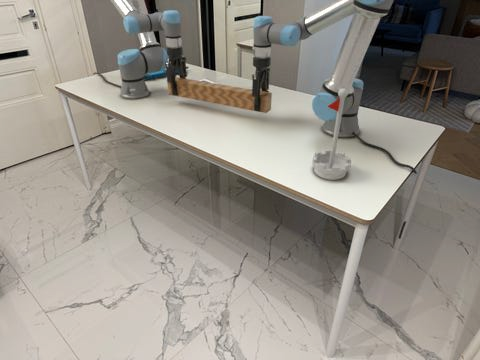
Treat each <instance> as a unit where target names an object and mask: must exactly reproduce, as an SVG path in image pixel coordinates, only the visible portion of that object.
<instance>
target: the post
mask: <svg viewBox="0 0 480 360" xmlns="http://www.w3.org/2000/svg"><path fill="white" fill-rule="evenodd" d="M166 83H167V84H166V85H167V91H168V95H169V96H174V95H172V89H171V83H168V82H167V81H166ZM175 83H176V84H177V94H178V96H177V97H179V98H184V99H190V100H194V101H200V102H206V103H211V104H215V105H222V106H227V107H232V108H235V109H241V110H246V111H251V112H255V111H254V97H252V88H245V87H240V86H233V85H227V84H220V83H217V84H215V83H216V82H215V83H209V82H203V81H199V80H196V79H190V78H186V79H184V78H180V77H179V76H178V77H177V76H176V78H175ZM272 94H273V93H272V92H270V91H269V92H264V91H260V97H261V102H260V112H259V111H256V112H257V113H263V114H268V112H270V111H271V110H272V97H273V95H272ZM174 97H175V96H174Z"/></svg>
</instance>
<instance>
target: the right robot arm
mask: <svg viewBox="0 0 480 360" xmlns="http://www.w3.org/2000/svg"><path fill="white" fill-rule="evenodd" d="M394 1H395V0H332V1H331V2H329V3H327V4H325V5H324V6H322V7H319V9H317V10H315V11H313V12H311V13H309V14H308V15H306V16H303V17H302V18H300V19H298V20H296V21H291V22H288V23H275V22H274V21H273V19H274V18H273V17H272V16H269V15H258V16H255V18H254V19H253V27H252V29H253V45H252V51H253V52H252V55H253V57H252V66H253V67H254V68H255V72H254V74H252V75H251V78H252V85H251V89H252V97H254V111H253V112H257V111H259V112H258V113H261V112H260V102H261V97H260V91H264V92H270V91H269V90H270V72H271V68H270V67H271V62H272V61H271V59H272V58H271V56H272V45H279V46H283V47H295V46H296V45H297V44H298V43H299V41H303V40H307V39H309V38H310V37H311V36H313V35H314V34H317V33H318V32H320V31H322V30H325V29H327V28H328V27H331V26H332V25H334V24H336V23H338V22H340V21H343V20H345V19H347V18H348V17H350V16H352V18H351V20H350V23H349V25H348V28H347V31H346V33H345V36H344V38H343V41H342V44H341V47H340V49H339V52H338V55H337V57H336V60H335V63H334V65H333V68H332V71H331V74H330V76H329V77H328V78H326V79H324V80H323V83H322V86H321V89H320V91H319V92H318V93H316V95H315V96H314V97H313V99H312V102H311V108H312V112H313V113H314V115H315V116H316V117H317V118H318V119H319V120H321V121H323V126H322V130H323V132H324V133H325V134H326V135H329V136H332V137H333V136H334V130H335V124H336V118H337V112H338V111H336V110H333V109H331V108H329V107H327V106H329V105H330V104H332V103H333V102H335V101H336V100H338V99H339V98H340V97H339V95H338V92H339V90H340V89H342V88H344V89H346V90H347V91H348V95H347V96H346V97H345V99H344V105H343V111H342V117H341V123H340V128H339V134H338V138H339V139H341V138H342V139H349V138H354V137H355V138H356V139H357V140H359V141H360V143H362V144H364V145H366V146H368V147H371V148H374V149H377V150H380V151H382V152H384V153H385V154H387V155H388V157H389V158H390V160H391V161H392V162H393V163H395V164H396V165H397V166H400V167H403V168H408V169H410V170H411V171H412V172H413V174H416V175H417V174H418V172H417V170H416V169H415V168H414V166H412V165H410V164H407V163H406V164H405V163H402V162H399V161H397V160H396V159H395V158H394V157H393V155H392V154H391V153H390V151H389V150H387V149H385V148H383V147H381V146H379V145H375V144H372V143H368V142H367V141H365V140H363V139H362V138H361V137H360V136H359V132H360V125H359V118H358V117H359V116H358V114H359V111H360V110H359V109H360V105H361V100H362V95H363V90H364V81H363V80H362V79H359V78H356V77H357V75H358V72H359V69H360V67H361V65H362V62H363V60H364V58H365V55H366V53H367V51H368V50H369V49H368V48H369V47H370V44H371V42H372V39H373V37H374V34H375V32H376V30H377V27H378V25H379V24H380V20H381V19H382V18H383V17H385V16H387V15H388V14H389V12H390V9H391V7H392V5H393V4H394ZM406 225H407V220H405V221H403V223H402V226H401V228H400V231H399V233H398V238H397V239H402V235H403V233H404V229H405V227H406Z"/></svg>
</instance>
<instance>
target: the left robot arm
mask: <svg viewBox="0 0 480 360" xmlns="http://www.w3.org/2000/svg"><path fill="white" fill-rule="evenodd" d="M110 3H112V5H113V6H114V7H115V9H116V10H117V12H118V13H119V15H121V16H120V17H122V18H123V20H122V22H123V27H124V29H125V32H126V33H127V34H129V35H132V34H134V35H137V37H138V39H139V44H140V46H139V48H132V49H126V50H122V51H121V52H119V53H118V54H117V64H118V69H119V73H120V79H121V85H119V84H116V83H113V82H110V81H108V80H107V79H106V78H105V77H104V76H103V74H101V73H99V72H93V73H92V75H93V76H94V75H98V76H100V77H101V78H102V79H103V81H105V82H106V83H107V84H110V85H112V86H116V87H117V88H118V87H119V88H120V96H121V98H123V99H126V100H137V99H142V98H143V99H144V98H145V97H148V96H149V95H150V90H149V88H148V86H147V84H146V81H145V80H144V78H143V74H147V73H153V72H159V71H163V70H166V71H167V75H166V83H167V82H168V83H171V89H172V95H171V96H173V95H174V97H178V94H177V84H176V83H175V78H176V77H177V76H176V75H177V74H178V78H184V79H187V77H188V73H187V72H188V71H187V69H186V67H187V63H186V61H187V58H186V57H185V56H183V55H184V50H183V38H182V27H181V26H182V25H181V17H180V12H179V11H178V10H173V9H168V10H164V11H163V12H161V11H155V12H154V13H149V11H148V9H147V6H146V2H145V0H110ZM160 31H163V32H164V37H165V45H166V49H165V47H161V44H160V43H159V42H157V38H156V36H155V32H160ZM176 69H177V70H178V73H176Z"/></svg>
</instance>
